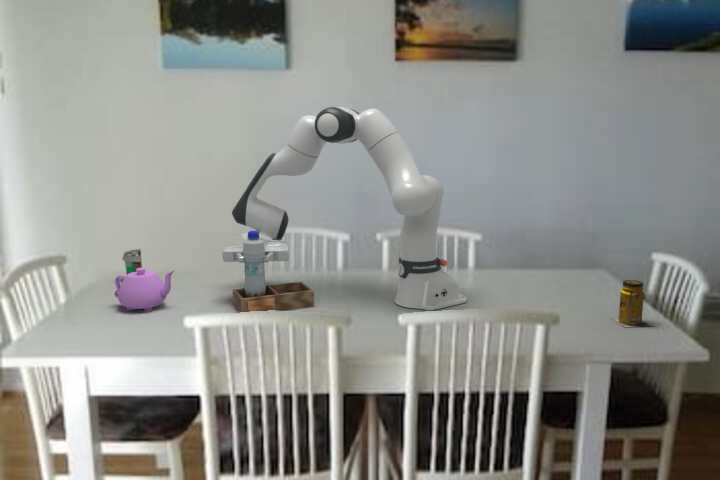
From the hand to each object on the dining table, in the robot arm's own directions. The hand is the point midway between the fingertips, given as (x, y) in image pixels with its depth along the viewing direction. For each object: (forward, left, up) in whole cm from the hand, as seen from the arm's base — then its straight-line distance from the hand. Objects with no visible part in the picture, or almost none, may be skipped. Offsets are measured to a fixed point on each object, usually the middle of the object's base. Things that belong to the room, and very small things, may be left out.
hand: (253, 259), depth 196 cm
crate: (-6, -1, -15) cm, 16 cm away
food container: (+31, -50, -15) cm, 61 cm away
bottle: (0, -1, -11) cm, 12 cm away
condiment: (-94, +56, -15) cm, 110 cm away
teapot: (+30, -16, -15) cm, 37 cm away
